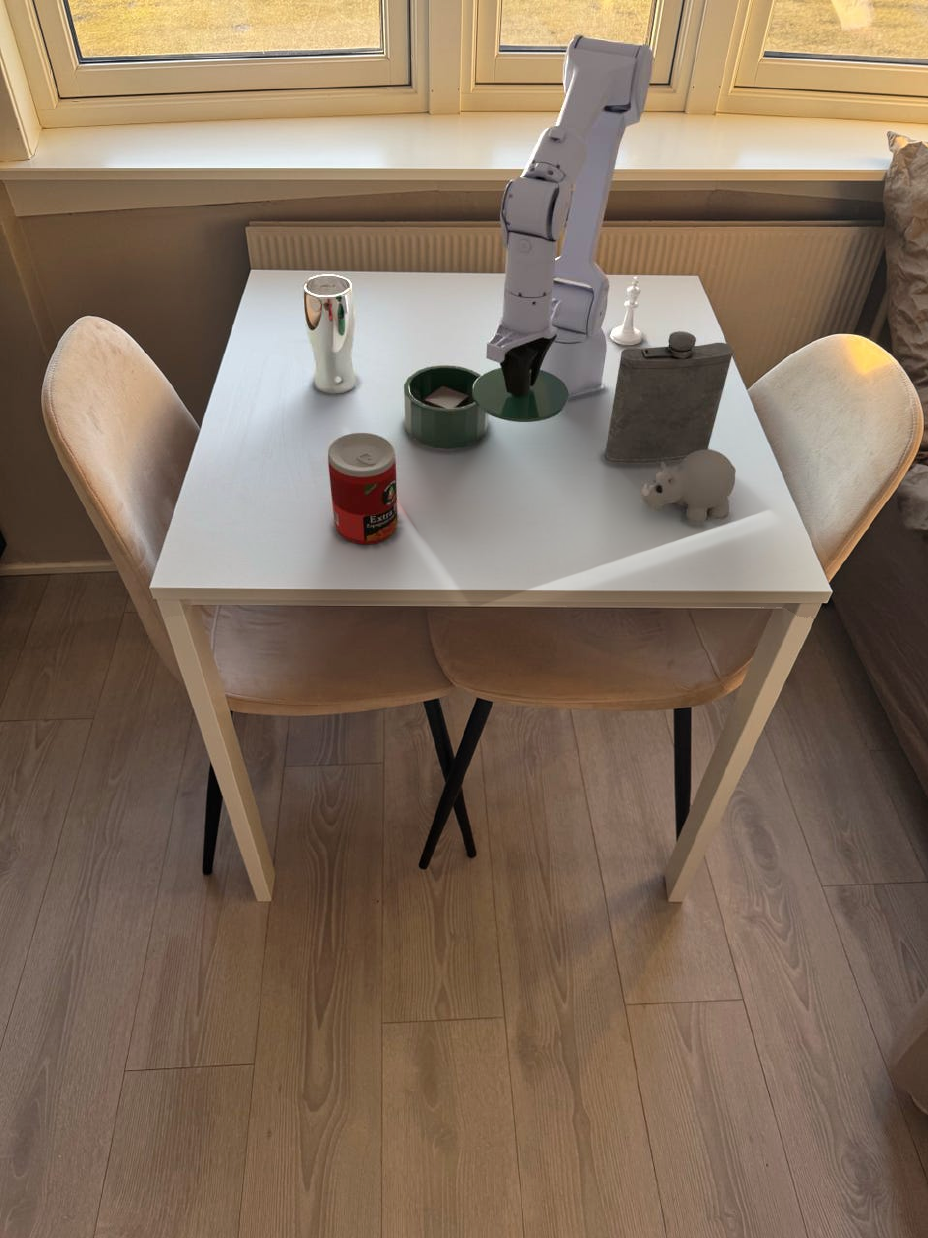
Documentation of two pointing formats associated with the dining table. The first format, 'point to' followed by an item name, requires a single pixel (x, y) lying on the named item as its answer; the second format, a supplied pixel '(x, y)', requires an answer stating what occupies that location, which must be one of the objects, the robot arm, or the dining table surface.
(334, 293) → the beer glass
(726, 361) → the flask
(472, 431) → the pot
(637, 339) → the chess piece
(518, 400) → the lid
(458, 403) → the block
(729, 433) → the dining table surface
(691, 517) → the toy rhinoceros
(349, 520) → the canned food
